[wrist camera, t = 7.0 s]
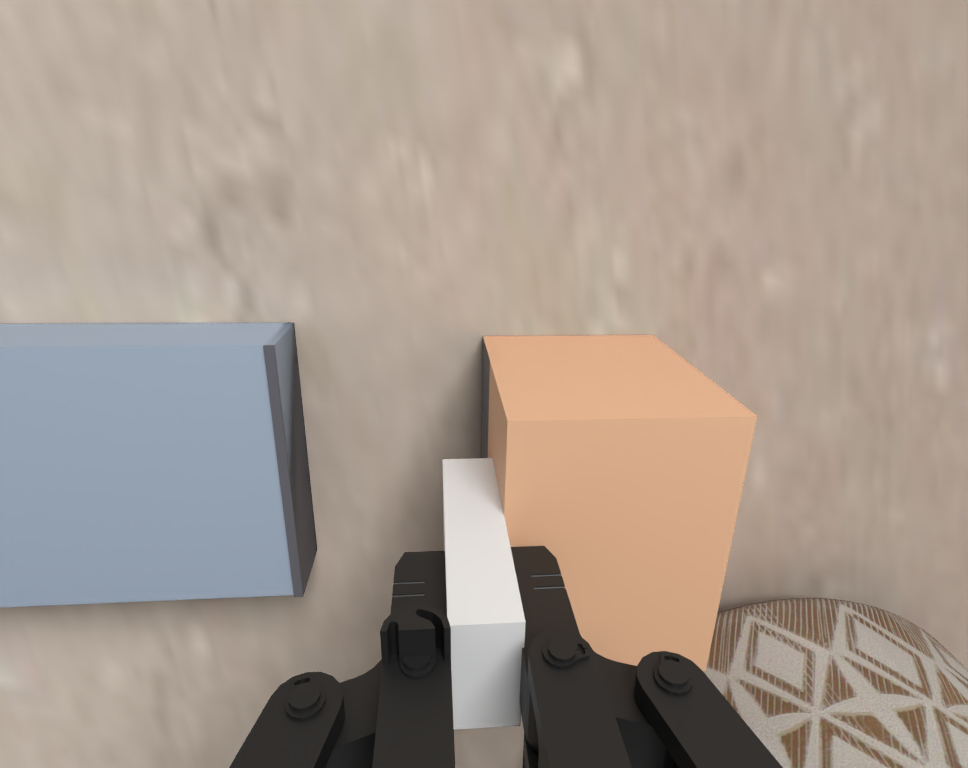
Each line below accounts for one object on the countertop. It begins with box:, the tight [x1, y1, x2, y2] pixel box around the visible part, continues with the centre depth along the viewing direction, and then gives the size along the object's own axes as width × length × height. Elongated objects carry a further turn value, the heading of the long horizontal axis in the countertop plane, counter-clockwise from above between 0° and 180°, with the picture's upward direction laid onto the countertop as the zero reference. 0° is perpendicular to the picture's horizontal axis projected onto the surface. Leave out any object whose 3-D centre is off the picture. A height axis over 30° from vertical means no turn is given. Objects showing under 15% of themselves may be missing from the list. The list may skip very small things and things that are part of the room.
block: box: [481, 335, 757, 671], centre depth 18 cm, size 6×8×7 cm
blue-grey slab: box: [0, 323, 317, 607], centre depth 19 cm, size 14×9×3 cm, turn 89°
